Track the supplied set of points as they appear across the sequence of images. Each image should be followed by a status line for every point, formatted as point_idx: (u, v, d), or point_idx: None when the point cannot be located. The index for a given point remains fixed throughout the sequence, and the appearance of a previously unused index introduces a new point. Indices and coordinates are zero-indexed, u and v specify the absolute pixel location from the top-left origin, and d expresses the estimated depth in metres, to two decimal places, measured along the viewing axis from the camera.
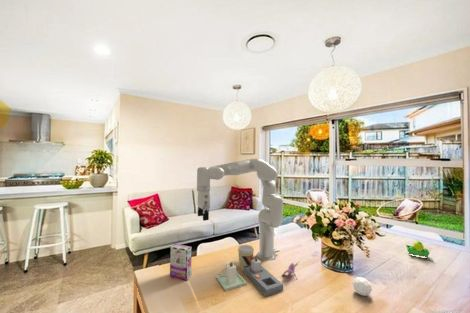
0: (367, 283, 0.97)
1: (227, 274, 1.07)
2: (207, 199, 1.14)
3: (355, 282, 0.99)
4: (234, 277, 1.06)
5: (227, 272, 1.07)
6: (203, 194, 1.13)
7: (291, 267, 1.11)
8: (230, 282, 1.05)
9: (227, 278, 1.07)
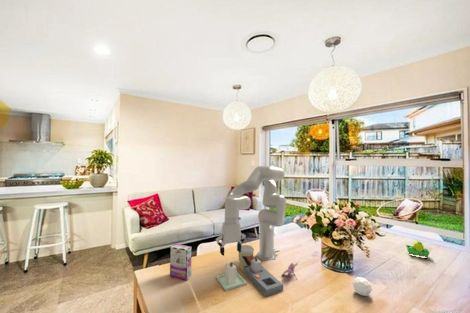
0: (367, 283, 0.97)
1: (227, 274, 1.07)
2: None
3: (355, 282, 0.99)
4: (234, 277, 1.06)
5: (227, 272, 1.07)
6: (239, 225, 1.09)
7: (291, 267, 1.11)
8: (230, 282, 1.05)
9: (227, 278, 1.07)
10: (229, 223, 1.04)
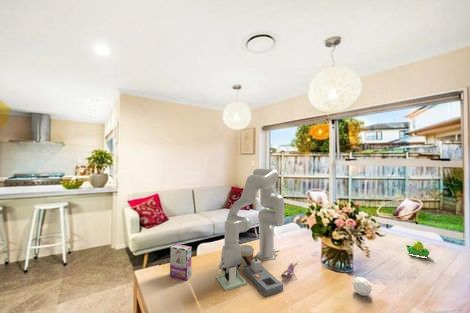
0: (367, 283, 0.97)
1: None
2: None
3: (355, 282, 0.99)
4: (234, 277, 1.06)
5: None
6: (239, 248, 1.09)
7: (290, 267, 1.11)
8: (230, 282, 1.05)
9: None
10: (229, 247, 1.04)
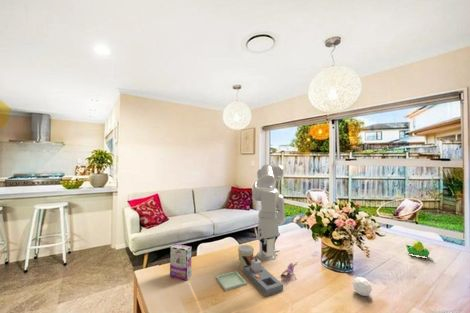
0: (367, 283, 0.97)
1: None
2: None
3: (355, 282, 0.99)
4: (272, 249, 1.02)
5: None
6: None
7: (290, 267, 1.11)
8: (268, 254, 1.01)
9: None
10: (267, 217, 1.00)
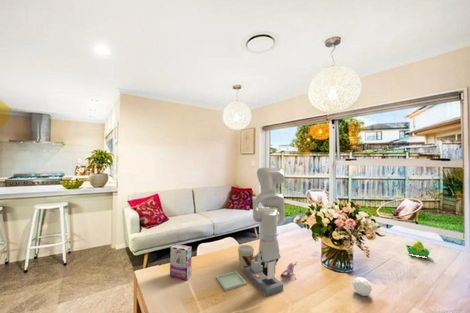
0: (367, 283, 0.97)
1: None
2: None
3: (355, 282, 0.99)
4: (273, 272, 1.01)
5: None
6: None
7: (290, 267, 1.11)
8: (269, 277, 1.00)
9: None
10: (268, 240, 0.99)
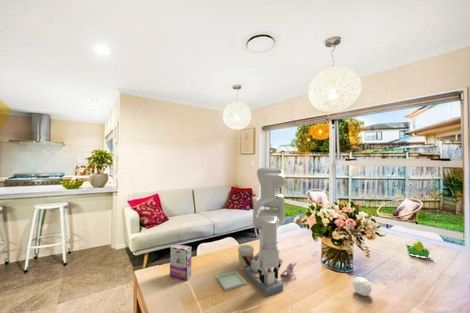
0: (367, 283, 0.97)
1: (265, 280, 1.02)
2: None
3: (355, 282, 0.99)
4: (272, 283, 1.01)
5: (265, 278, 1.02)
6: None
7: (290, 267, 1.11)
8: None
9: None
10: (268, 248, 0.99)
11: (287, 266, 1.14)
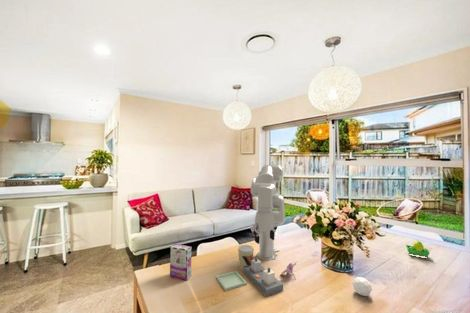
0: (367, 283, 0.97)
1: (265, 280, 1.02)
2: None
3: (355, 282, 0.99)
4: (272, 283, 1.01)
5: (265, 278, 1.02)
6: None
7: (289, 267, 1.11)
8: None
9: None
10: (264, 212, 1.04)
11: None
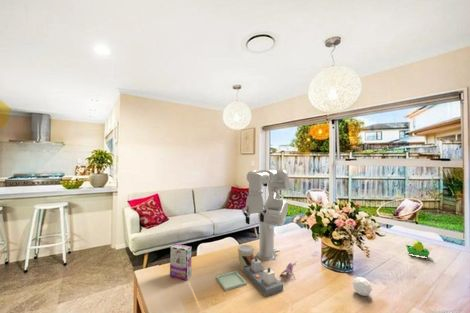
0: (367, 283, 0.97)
1: (265, 280, 1.02)
2: None
3: (355, 282, 0.99)
4: (272, 283, 1.01)
5: (265, 278, 1.02)
6: None
7: (289, 267, 1.11)
8: None
9: None
10: (253, 195, 1.16)
11: None
